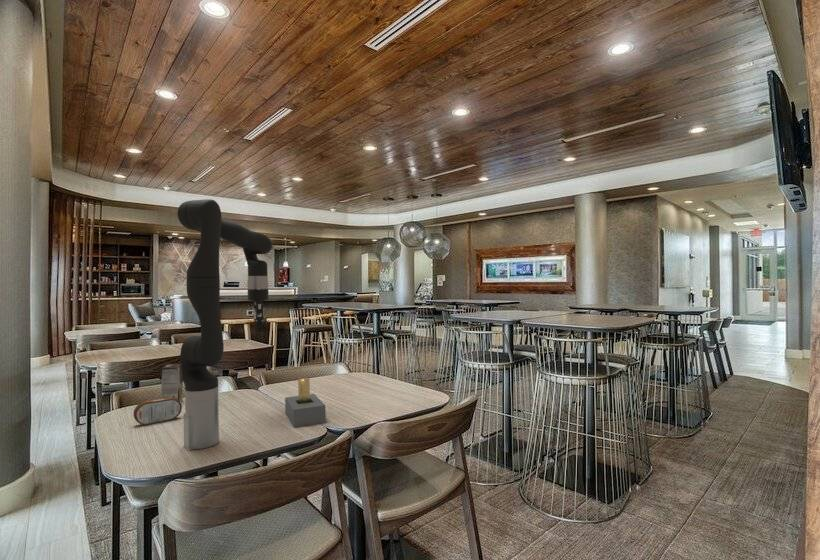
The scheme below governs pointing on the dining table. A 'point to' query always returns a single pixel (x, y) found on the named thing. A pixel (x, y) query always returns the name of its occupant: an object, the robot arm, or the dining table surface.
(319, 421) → the socket block
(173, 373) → the coffee box
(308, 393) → the pin
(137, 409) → the tin
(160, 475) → the dining table surface
